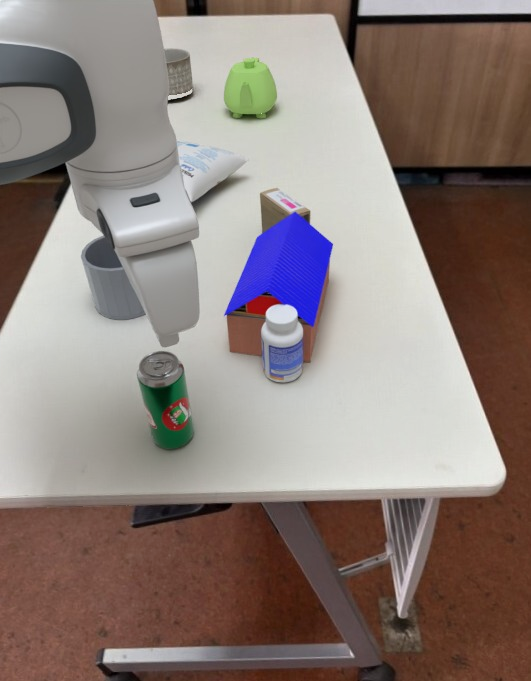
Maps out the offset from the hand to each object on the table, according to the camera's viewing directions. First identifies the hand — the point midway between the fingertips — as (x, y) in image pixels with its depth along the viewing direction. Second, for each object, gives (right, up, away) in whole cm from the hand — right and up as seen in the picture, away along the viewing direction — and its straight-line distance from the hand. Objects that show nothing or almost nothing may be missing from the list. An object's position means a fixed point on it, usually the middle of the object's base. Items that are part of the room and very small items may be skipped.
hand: (153, 312), depth 56 cm
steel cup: (-11, +4, +33) cm, 35 cm away
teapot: (+7, +56, +91) cm, 107 cm away
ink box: (+14, +14, +44) cm, 49 cm away
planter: (-15, +65, +101) cm, 121 cm away
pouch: (-6, +28, +61) cm, 67 cm away
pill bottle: (+13, -7, +21) cm, 26 cm away
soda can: (0, -14, +13) cm, 20 cm away
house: (+14, +1, +30) cm, 33 cm away
